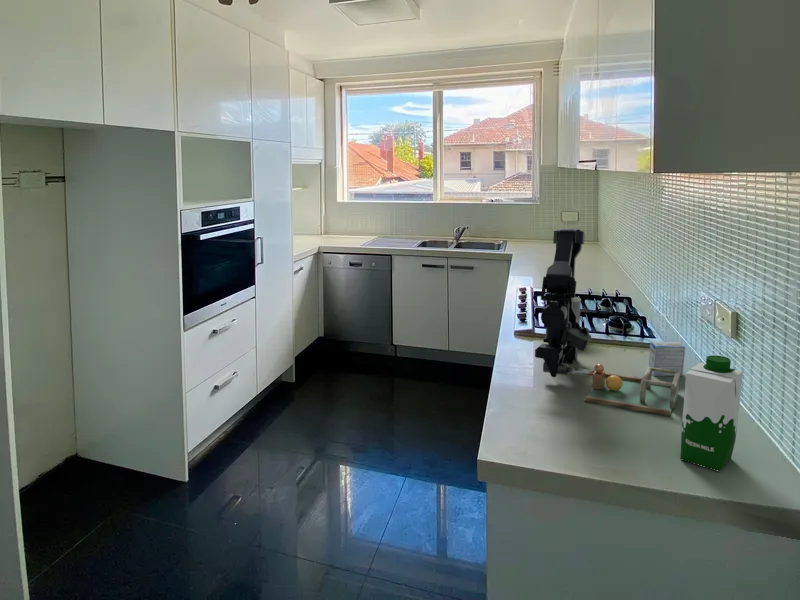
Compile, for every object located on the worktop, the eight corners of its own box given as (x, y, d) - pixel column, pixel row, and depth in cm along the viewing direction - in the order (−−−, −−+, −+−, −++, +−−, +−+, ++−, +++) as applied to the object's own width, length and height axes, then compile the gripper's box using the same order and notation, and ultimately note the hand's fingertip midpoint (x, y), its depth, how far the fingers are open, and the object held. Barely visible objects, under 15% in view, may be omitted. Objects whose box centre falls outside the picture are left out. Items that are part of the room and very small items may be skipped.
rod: (542, 380, 149) (543, 358, 148) (546, 376, 152) (546, 354, 151) (601, 389, 142) (602, 366, 140) (604, 385, 145) (605, 362, 143)
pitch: (584, 401, 136) (585, 377, 135) (601, 376, 153) (602, 354, 151) (672, 417, 126) (674, 391, 125) (679, 388, 143) (681, 364, 141)
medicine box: (676, 371, 155) (679, 341, 153) (683, 376, 151) (685, 346, 149) (647, 370, 156) (649, 341, 154) (653, 376, 152) (655, 346, 150)
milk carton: (737, 458, 107) (748, 360, 103) (723, 476, 101) (734, 373, 97) (689, 444, 113) (698, 351, 109) (672, 460, 107) (681, 362, 103)
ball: (603, 391, 141) (604, 376, 140) (607, 386, 144) (607, 372, 144) (620, 394, 139) (621, 379, 138) (623, 389, 142) (624, 374, 142)
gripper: (580, 331, 134) (577, 391, 137) (596, 314, 149) (594, 369, 153) (535, 326, 139) (533, 384, 143) (555, 310, 155) (553, 363, 158)
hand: (555, 375), depth 149 cm, fingers closed on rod, 3 cm apart
